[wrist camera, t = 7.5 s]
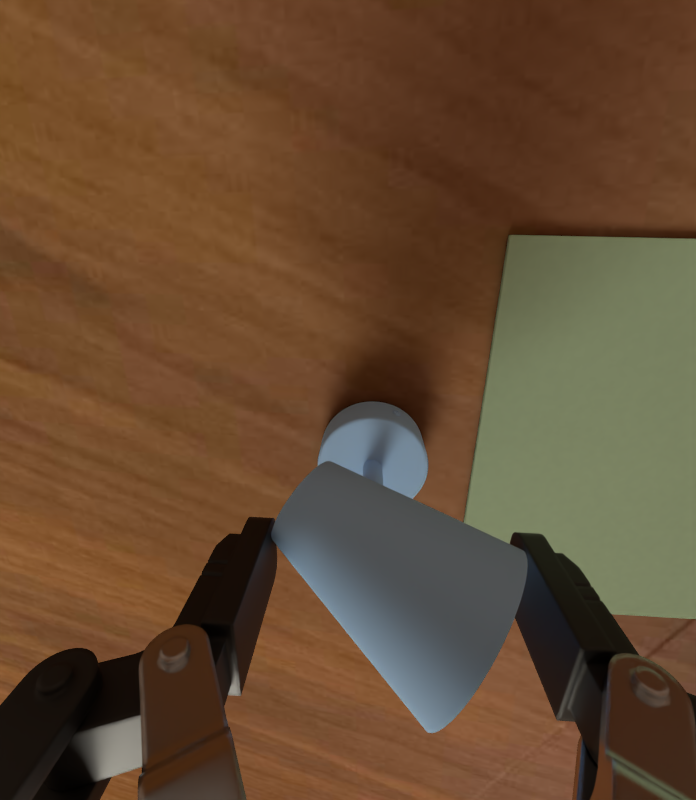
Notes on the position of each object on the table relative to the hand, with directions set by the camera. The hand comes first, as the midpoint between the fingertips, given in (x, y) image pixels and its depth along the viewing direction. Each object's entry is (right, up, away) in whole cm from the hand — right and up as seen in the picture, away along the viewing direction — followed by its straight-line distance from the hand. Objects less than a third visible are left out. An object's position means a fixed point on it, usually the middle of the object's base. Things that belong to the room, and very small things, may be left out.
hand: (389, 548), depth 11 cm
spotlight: (0, +2, +6) cm, 6 cm away
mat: (+13, +2, +5) cm, 15 cm away
